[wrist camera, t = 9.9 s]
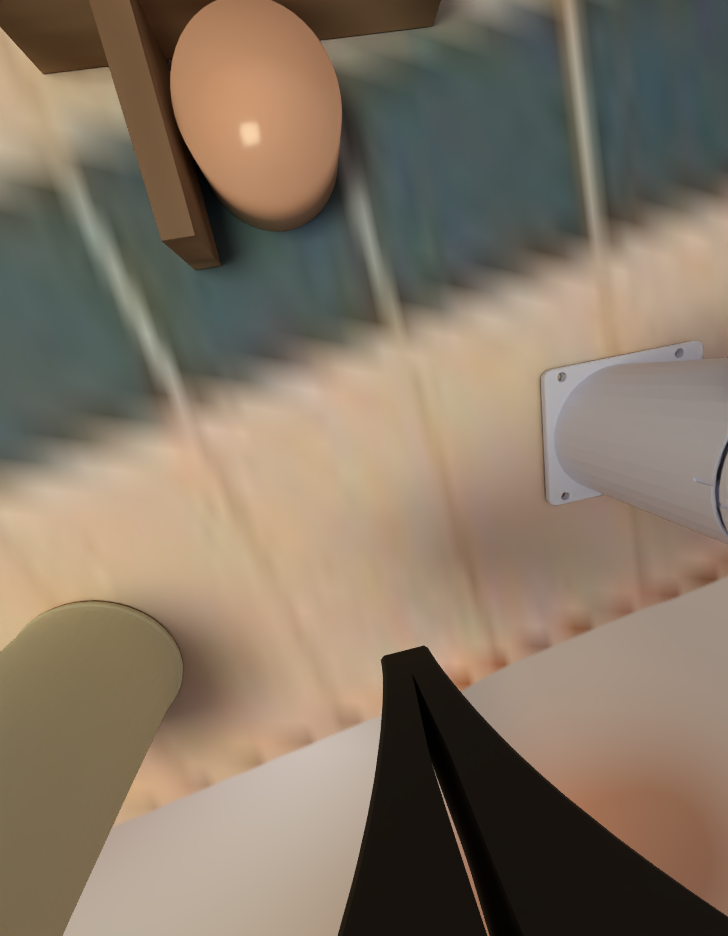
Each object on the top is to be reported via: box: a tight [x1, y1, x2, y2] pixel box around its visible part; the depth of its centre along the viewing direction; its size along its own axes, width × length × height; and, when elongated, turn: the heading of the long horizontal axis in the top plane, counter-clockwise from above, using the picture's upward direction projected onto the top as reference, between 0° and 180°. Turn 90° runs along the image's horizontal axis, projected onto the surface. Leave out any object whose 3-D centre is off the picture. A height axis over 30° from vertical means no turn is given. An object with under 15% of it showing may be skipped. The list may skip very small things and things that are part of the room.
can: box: [0, 601, 183, 936], centre depth 15 cm, size 9×9×12 cm
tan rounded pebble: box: [170, 0, 342, 232], centre depth 14 cm, size 6×6×3 cm
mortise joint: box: [0, 0, 441, 270], centre depth 13 cm, size 16×9×4 cm, turn 100°
